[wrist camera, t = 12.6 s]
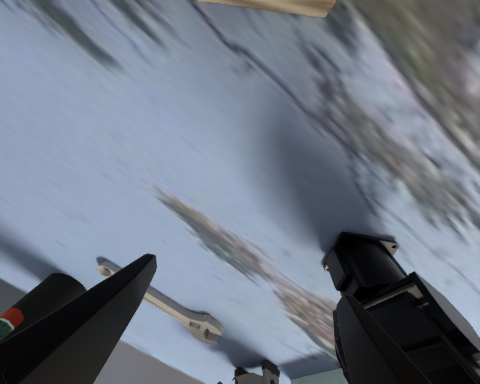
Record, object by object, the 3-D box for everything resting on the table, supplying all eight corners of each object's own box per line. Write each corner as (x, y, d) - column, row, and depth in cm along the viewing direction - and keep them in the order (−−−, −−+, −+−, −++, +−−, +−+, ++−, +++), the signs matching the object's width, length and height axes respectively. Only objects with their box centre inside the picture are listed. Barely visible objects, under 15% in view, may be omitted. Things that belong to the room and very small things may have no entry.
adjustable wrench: (101, 263, 32) (92, 271, 30) (118, 245, 29) (109, 253, 28) (209, 337, 38) (207, 347, 36) (231, 327, 35) (230, 337, 33)
